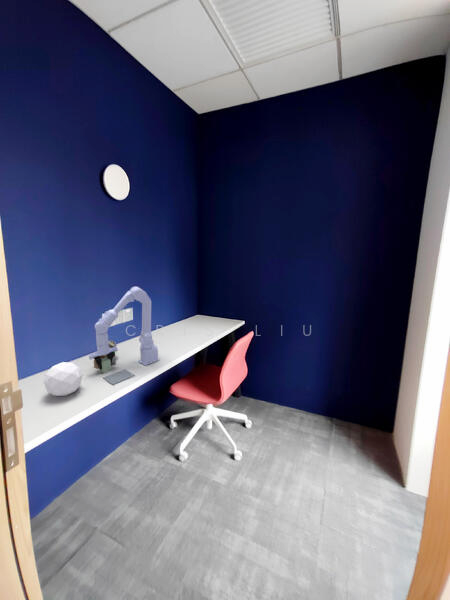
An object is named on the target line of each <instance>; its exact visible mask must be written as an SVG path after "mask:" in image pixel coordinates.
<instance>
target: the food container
mask: <svg viewBox="0 0 450 600" xmlns="http://www.w3.org/2000/svg"><path fill="white" fill-rule="evenodd" d="M108 341H109V348H114V347H117V343H116V342H115V340H114V341H113V340H108ZM96 347H97V344H96ZM113 353H114V354H115V355H114V356H115V357H116V351H115V352H113ZM106 357H107V355H106V354H105V355H102V356H100V358H102V359H103V358H106Z"/></svg>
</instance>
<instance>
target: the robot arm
mask: <svg viewBox="0 0 450 600" xmlns="http://www.w3.org/2000/svg"><path fill="white" fill-rule="evenodd" d="M135 300H136V301H137V302H139V303H141V331H140V336H139V338H138V341H139V342H140V345H139V351H140V359H139V360H137V362H138V363H140V364H142V365H144V366H148V365H150V364H153V363H155V362H159V361H160V358H159V349H158V346H157V345H156V344H154V340H153V334H152V300H151V298H150V297H149V295H148V293H147V292H146V291H145V290H144V289H142V288H140V287H139V286H132V287H131V288H130V290H127V291H126V293H125V294H124V295H123V296H122V298H121V299H120V300H119V301H118V303H117V304H116V305H115V306H114V307H113V309H108V311H107V310H106V311H105V312H104V315H103V316H102V317H101V318H99V319H98V321H96V323H95V324H94V329H95V341H96V345H97V346H96V349H97V351H95V352H93V353H90V354H89V355H88V359H89V360H93V361H94V360H95V361H96V363H97V365H98V367H99V369H100V370H101V369H102V364H101V362H102V359H101V358H100V356H102V355H105V354H106V355H107V358H108V359H110V361H111V363H112V359H113V357H114V355H115V356H116V352H118V350H119V349H118V347H117V346H116V347H114V348H109V341H110V340H109V334H108V330H109V327H110V326H111V325H112V324H113V323H114V322H115V321H116V320H117V319H118V317H119V313H120V312H121V311H122V310H123V309H124V308H125V307H126V306H127V305H128V304H129V303H132V302H135ZM113 352H115V354H114V353H113ZM99 369H98V370H99ZM100 370H99V371H100Z"/></svg>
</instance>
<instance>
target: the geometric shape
mask: <svg viewBox="0 0 450 600" xmlns="http://www.w3.org/2000/svg"><path fill="white" fill-rule="evenodd" d="M80 368H81V367H79V366H78V365H76V364H75V363H74V362H65V361H62V362H60V363H57V364H55V365H52V366H51V367H50V369H49V370H48V371H47V372H46V373H45V375H44V376H45V377H44V380H43V384H44V387H45V390H46V392H48V393H49V394H51V395H52V396H55V397H56V396H58V397H66V396H68V395H70V394H72V393H74V392H76V390H77V389H78V388H79V387H80V385H81V383H82V380H83V379H82V378H83V373H82V371H81V369H80Z"/></svg>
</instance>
